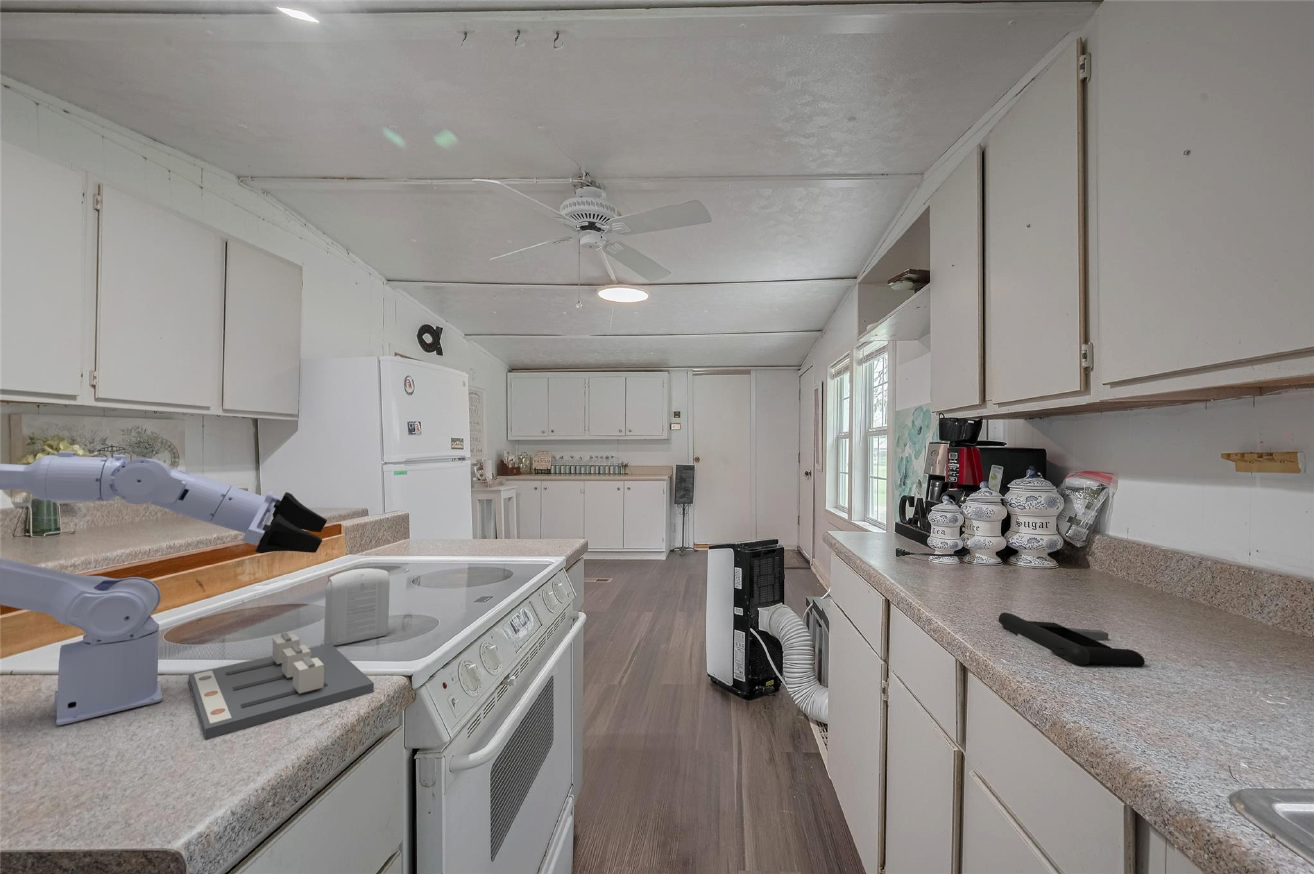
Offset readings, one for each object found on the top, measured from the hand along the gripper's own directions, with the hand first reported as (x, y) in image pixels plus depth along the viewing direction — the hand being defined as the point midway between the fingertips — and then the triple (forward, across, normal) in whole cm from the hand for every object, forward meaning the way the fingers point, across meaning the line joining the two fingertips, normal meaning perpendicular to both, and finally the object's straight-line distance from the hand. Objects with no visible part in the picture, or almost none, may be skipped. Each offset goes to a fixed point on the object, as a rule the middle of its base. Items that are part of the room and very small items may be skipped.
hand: (321, 535), depth 85 cm
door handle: (+107, -52, -43) cm, 127 cm away
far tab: (+4, -5, +18) cm, 19 cm away
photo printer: (+14, +5, +18) cm, 24 cm away
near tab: (+6, -17, +13) cm, 22 cm away
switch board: (+4, -12, +18) cm, 22 cm away
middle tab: (+5, -11, +16) cm, 20 cm away
